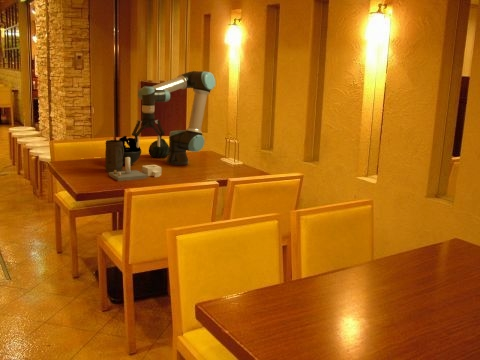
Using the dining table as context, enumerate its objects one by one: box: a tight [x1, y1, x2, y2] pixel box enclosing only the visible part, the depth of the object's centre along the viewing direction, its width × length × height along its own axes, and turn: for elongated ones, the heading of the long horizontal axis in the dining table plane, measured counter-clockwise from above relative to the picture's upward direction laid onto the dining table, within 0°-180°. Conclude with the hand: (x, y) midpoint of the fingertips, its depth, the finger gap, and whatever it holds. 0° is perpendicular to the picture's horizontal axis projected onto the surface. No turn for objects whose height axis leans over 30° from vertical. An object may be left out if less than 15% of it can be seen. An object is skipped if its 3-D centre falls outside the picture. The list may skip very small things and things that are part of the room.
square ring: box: [141, 164, 162, 178], centre depth 308 cm, size 13×9×5 cm
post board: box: [108, 157, 148, 182], centre depth 299 cm, size 18×16×12 cm
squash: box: [148, 138, 169, 159], centre depth 365 cm, size 14×15×15 cm
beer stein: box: [104, 139, 124, 174], centre depth 314 cm, size 15×11×20 cm
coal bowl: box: [118, 135, 142, 166], centre depth 334 cm, size 20×20×19 cm
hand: (148, 146), depth 306 cm, fingers open, 13 cm apart
